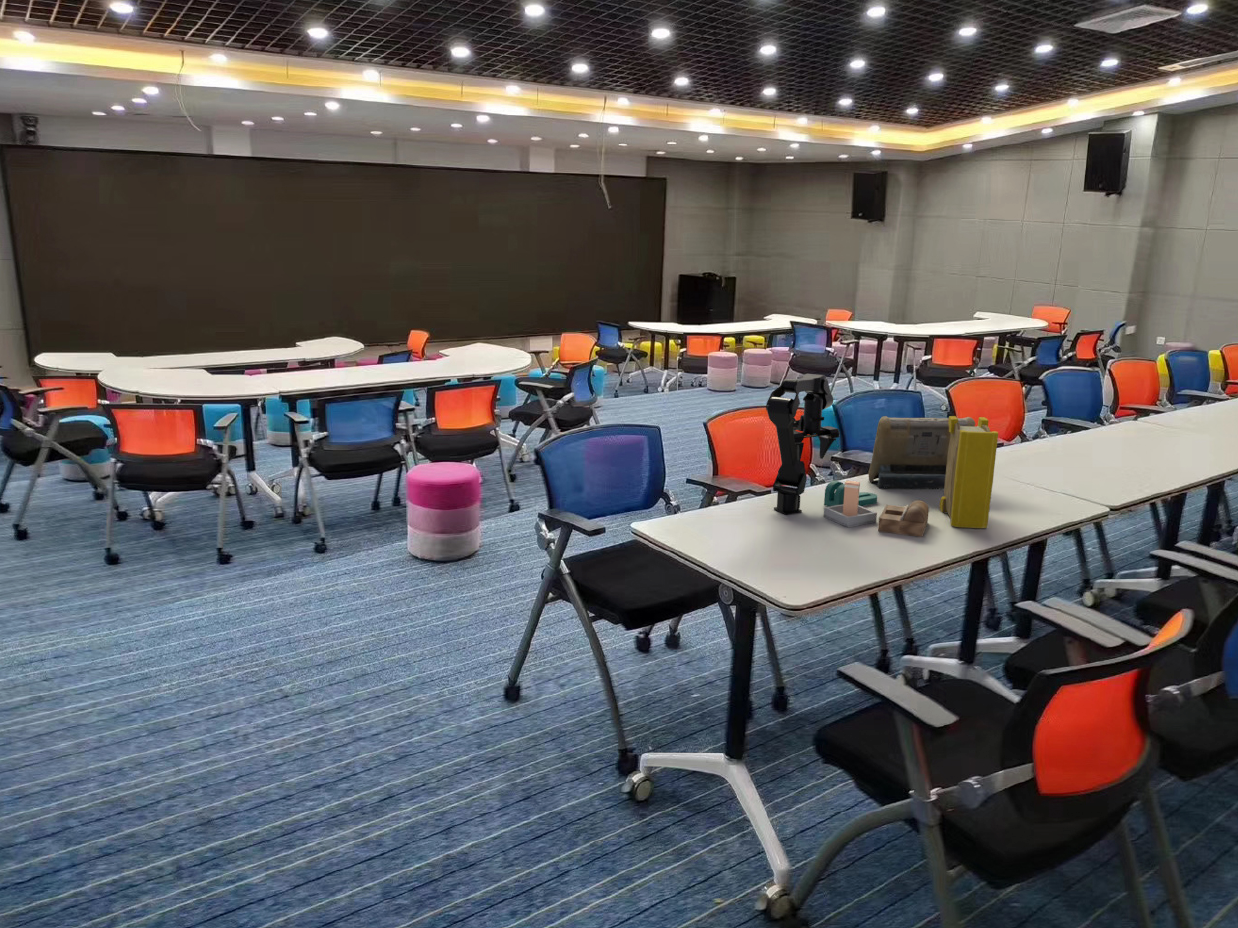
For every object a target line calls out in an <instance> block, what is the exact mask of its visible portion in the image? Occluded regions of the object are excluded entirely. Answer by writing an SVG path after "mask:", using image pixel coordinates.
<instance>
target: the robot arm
mask: <svg viewBox="0 0 1238 928" xmlns="http://www.w3.org/2000/svg"><path fill="white" fill-rule="evenodd" d="M829 384H830V383H829V380H828V378H827V377H826V375H825V374H814V373H805V374H803V375H802V376H801V378H792V379H791V378H786V379H782V382H781V384H780V385H779V386H778V387H777V388H775V389H774V390H773V391H772V392H771V393H770V395H769V397H768V399H767V402H766V405H765V410H766V412H767V416H768V419H769V420H770V421H771V423H772V424H773V425H774V426H775V428H776V429H775V430H776V435H777V441H778V447H779V455H780V461H781V465H780V467H779V468H778V471H777V475H776V477H775V479H774V481H773V485H772V490H773V492H776V493H777V494H776V495H777V499H776V506H775V507H773V510H775V511H777V512H779V513H781V514H783V515H790V514H791V515H792V514H797V513H802V512H803V509H800V508H801V495H802V494H804V493H805V490H806V484H807V477H808V476H807V473H806V472H807V470H806V466H805V465H806V464H805V462H804V461H803V460H802V456H803V450H804V447H805V446H804V444H805V443H804V442H803V441H804V439H807V438H808V439H809V438H815V437H816V438H817V437H818V440H819V459H821V460H823V459H824V457H825V455H826V454H827V452H828V451H829V449H830V447H831V446H832V444H833V443H834V442H835V441H836V440H837V438H839V439H840V430H839V429H838V428H836V427H833V426H830V425H828V426H827V425H826V426H822V421H825V417H824V416H823V410H826V409H828V408H830V407H832V405H833V404H834V396H833V395H832V392H831V389H830V385H829ZM801 392H805V394H806V395H804V397H803V399H802V401H803V402H804V403H803V414H802V415H800V417H799V419H796V418H795V417H796V416H797V411H798V410H799V407H800V405H801V401H800V396H799V394H800V393H801ZM785 393H788V394H789V393H790V394H795V396H794V398H790V397H789V398H787V397H782V396H783V395H785Z"/></svg>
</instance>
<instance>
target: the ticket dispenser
mask: <svg viewBox="0 0 1238 928" xmlns="http://www.w3.org/2000/svg"><path fill="white" fill-rule="evenodd" d="M929 512H930V511H929V506H928V504H927V503H926V502H924V501H923V500H913V501H912V502H911V503H909V504H906V506H899V505H891V504H886V505H885V506H884V509H883V510H882V512H881V514H880V516H879V517H878V525H877V526H878V528H877V531H878V532H882V533H883V532H884V533H891V534H898V535H904V536H905V535H906V536H910V537H911V536H912V537H920V538H923V535H924V533H925V531H926V528H927V525H928V521H929Z"/></svg>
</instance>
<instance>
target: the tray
mask: <svg viewBox="0 0 1238 928" xmlns="http://www.w3.org/2000/svg"><path fill="white" fill-rule="evenodd" d="M877 517H878V512H876V511H874V510H871V509H869V508H866V507H865V506H859V505H858V515H855V516H849V517H848V516H846V515H844V514H843V504H842V505H836V506H830V507H828V506H825V507H824V508H823V518H825V519H828V520H829V521H832V522H834V523H837V524H839V525H841V526H844V527H846V528H852V527H857V526H863V525H869V524H873V523H877V519H878V518H877Z"/></svg>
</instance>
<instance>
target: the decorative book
mask: <svg viewBox="0 0 1238 928" xmlns="http://www.w3.org/2000/svg"><path fill="white" fill-rule="evenodd" d="M957 418H958V417H957V416H956V415H950V416H948V419H949V422H948V424H949V432H950V433H951V436H950V442H949V449H948V457H947V466H946V476H945V487H944V489H943V493H944V494H943V496H941V498H940V500H939V510H940V512H941V513H946V514H948V517H949V518H950V526H951V527H954V528H966V529H967V528H968V529H969V528H970V529H987V528H988V522H989V516H990V515H989V514H990V513H989V512H990V507H991V498H992V492H993V484H994V483H993V482H994V476H995V475H994V474H995V464H996V458H997V457H996V456H997V448H998V447H997V446H998V440H999V432H998V431H995V430H993V431H991V428H990V427H989V423H990V422H989V421H990V420H989V419H988V418H986V417H983V416H980V417H978V420H977V421H978V422H977V426H976V425H975V426H974V427H971V426H960V423H958V419H957Z"/></svg>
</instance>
